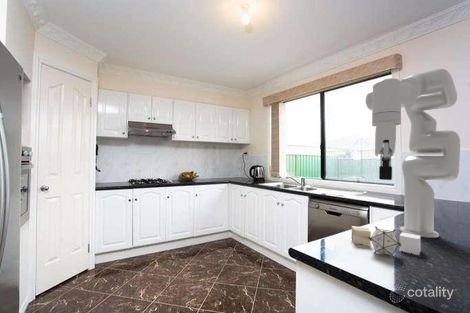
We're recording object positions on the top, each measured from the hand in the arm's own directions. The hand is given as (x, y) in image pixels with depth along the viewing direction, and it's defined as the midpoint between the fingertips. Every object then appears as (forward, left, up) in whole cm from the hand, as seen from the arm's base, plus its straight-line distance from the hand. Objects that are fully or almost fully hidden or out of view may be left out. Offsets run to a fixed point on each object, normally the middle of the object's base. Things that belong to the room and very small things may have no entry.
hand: (385, 178), depth 72 cm
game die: (0, 0, -23) cm, 23 cm away
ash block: (-8, -7, -23) cm, 26 cm away
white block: (-9, +7, -23) cm, 26 cm away
